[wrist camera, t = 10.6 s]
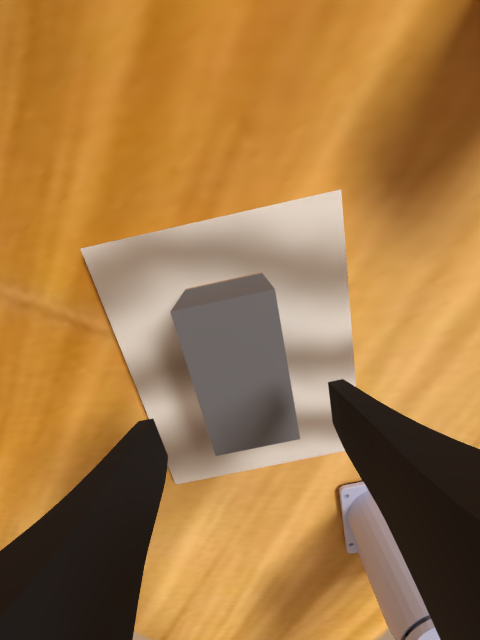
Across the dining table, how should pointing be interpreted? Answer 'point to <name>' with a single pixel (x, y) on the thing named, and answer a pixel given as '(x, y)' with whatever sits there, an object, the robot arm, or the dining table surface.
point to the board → (218, 265)
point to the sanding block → (237, 362)
